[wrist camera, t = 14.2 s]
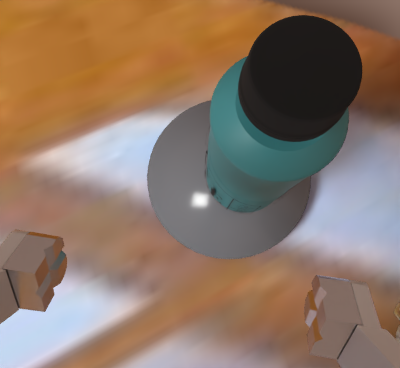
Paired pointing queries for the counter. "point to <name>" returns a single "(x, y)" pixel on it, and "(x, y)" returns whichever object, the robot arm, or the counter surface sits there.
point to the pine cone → (399, 313)
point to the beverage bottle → (281, 112)
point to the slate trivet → (204, 201)
